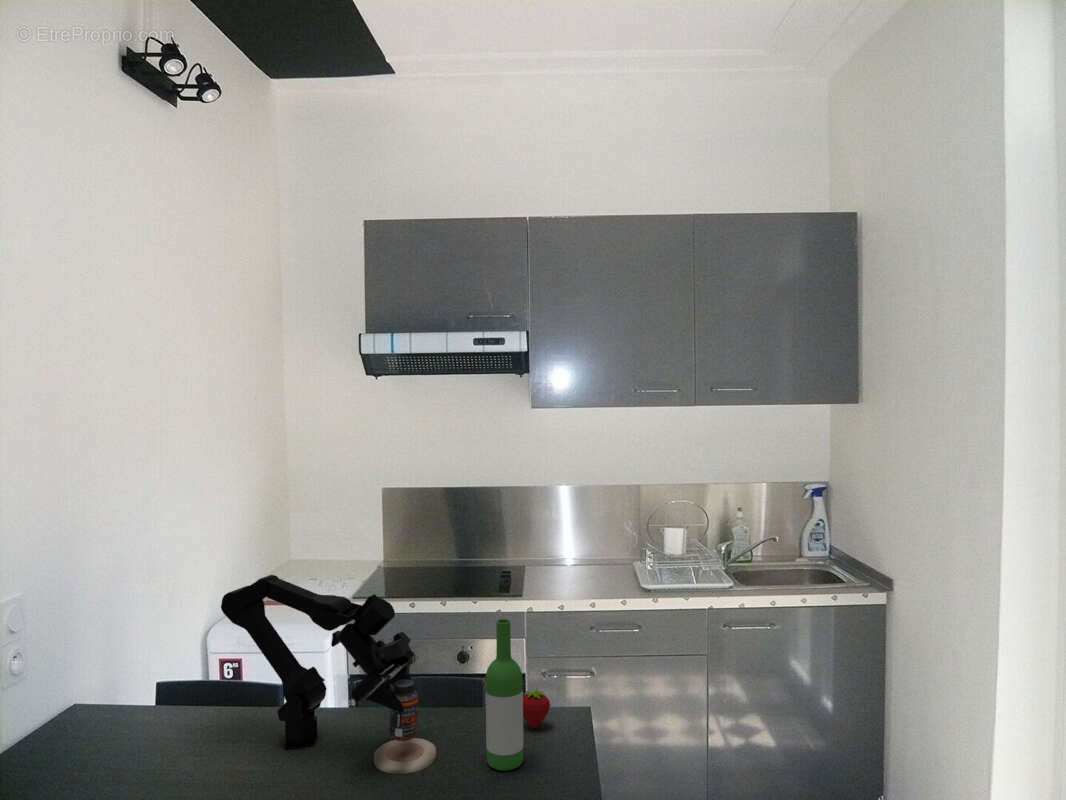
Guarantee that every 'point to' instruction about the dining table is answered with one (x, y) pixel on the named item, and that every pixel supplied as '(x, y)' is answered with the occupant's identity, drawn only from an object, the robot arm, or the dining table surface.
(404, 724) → the supplement bottle
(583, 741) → the dining table surface
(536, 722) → the strawberry
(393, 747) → the serving plate
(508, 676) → the wine bottle
